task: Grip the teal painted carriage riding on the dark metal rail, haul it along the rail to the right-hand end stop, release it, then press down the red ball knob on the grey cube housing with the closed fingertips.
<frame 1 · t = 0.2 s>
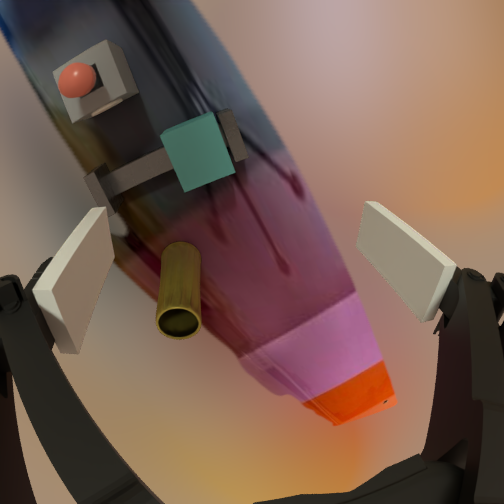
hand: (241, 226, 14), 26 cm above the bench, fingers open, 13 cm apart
grey cube housing: (106, 82, 30), on the bench
carriage: (198, 148, 33), point 4 cm above the bench, slide at 4.5 cm
vase: (181, 258, 45), on the bench
red ball knob: (83, 80, 23), point 8 cm above the bench, slide at 0.0 cm
rail: (166, 156, 36), on the bench
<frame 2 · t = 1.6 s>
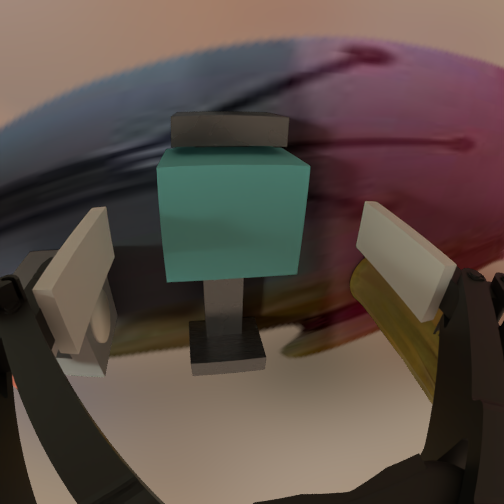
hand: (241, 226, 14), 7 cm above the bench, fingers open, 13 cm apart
grey cube housing: (73, 285, 22), on the bench
carriage: (226, 201, 17), point 4 cm above the bench, slide at 4.5 cm
vase: (374, 274, 28), on the bench
red ball knob: (42, 356, 15), point 8 cm above the bench, slide at 0.0 cm
rail: (220, 240, 23), on the bench
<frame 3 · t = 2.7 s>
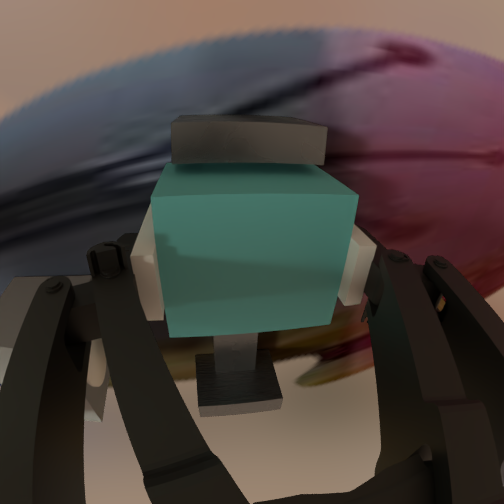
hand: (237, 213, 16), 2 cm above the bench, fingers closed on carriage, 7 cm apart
grey cube housing: (63, 314, 19), on the bench
carriage: (243, 231, 14), point 4 cm above the bench, slide at 4.5 cm, touching gripper
rail: (232, 269, 19), on the bench
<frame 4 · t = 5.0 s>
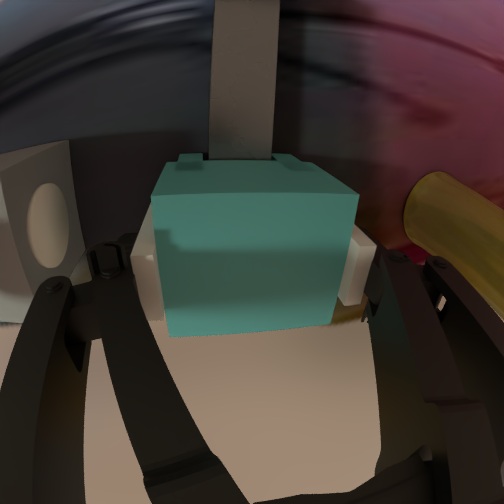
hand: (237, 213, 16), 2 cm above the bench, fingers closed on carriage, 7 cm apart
grey cube housing: (30, 202, 14), on the bench
carriage: (243, 231, 14), point 4 cm above the bench, slide at -4.4 cm, touching gripper
vase: (429, 207, 20), on the bench
rail: (236, 127, 15), on the bench
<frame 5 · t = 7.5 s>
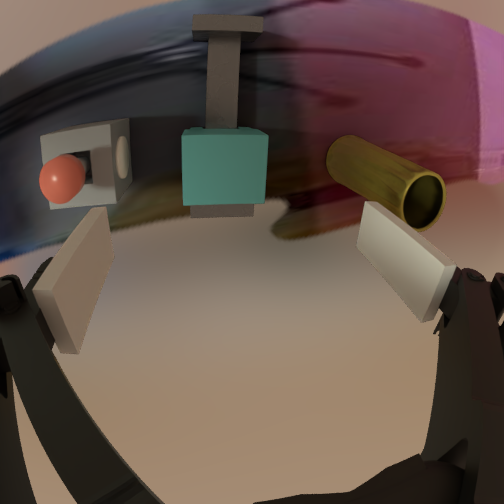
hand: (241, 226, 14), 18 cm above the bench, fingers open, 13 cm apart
grey cube housing: (100, 153, 28), on the bench
carriage: (221, 161, 27), point 4 cm above the bench, slide at -4.4 cm
vase: (348, 159, 33), on the bench
red ball knob: (70, 172, 20), point 8 cm above the bench, slide at 0.0 cm
rail: (220, 113, 28), on the bench
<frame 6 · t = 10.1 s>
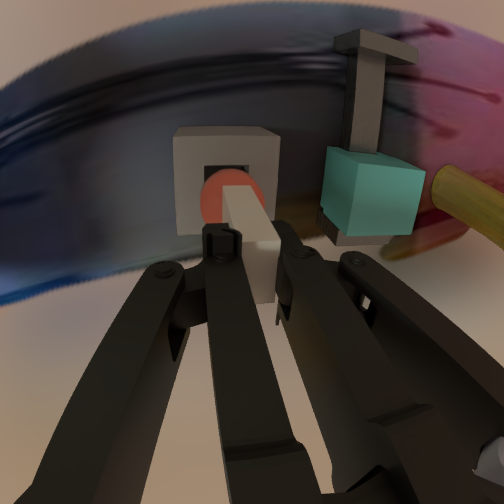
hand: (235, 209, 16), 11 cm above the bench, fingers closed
grey cube housing: (219, 164, 26), on the bench
carriage: (367, 188, 25), point 4 cm above the bench, slide at -4.4 cm
vase: (445, 186, 31), on the bench
red ball knob: (228, 192, 19), point 8 cm above the bench, slide at 0.0 cm, touching gripper
rail: (354, 134, 26), on the bench
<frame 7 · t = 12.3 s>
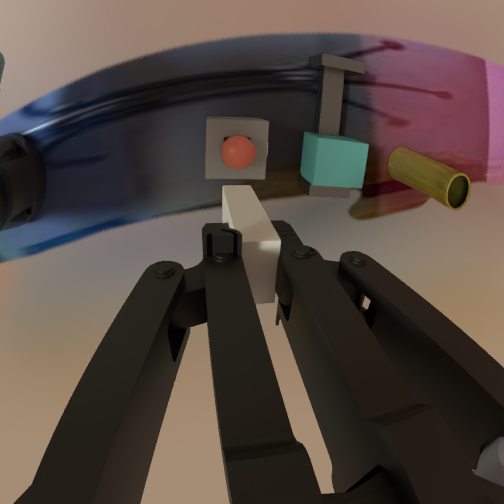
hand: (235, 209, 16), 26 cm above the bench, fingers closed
grey cube housing: (231, 141, 39), on the bench
carriage: (331, 158, 38), point 4 cm above the bench, slide at -4.4 cm
vase: (401, 163, 44), on the bench
red ball knob: (236, 149, 33), point 7 cm above the bench, slide at 1.7 cm
rail: (324, 123, 39), on the bench
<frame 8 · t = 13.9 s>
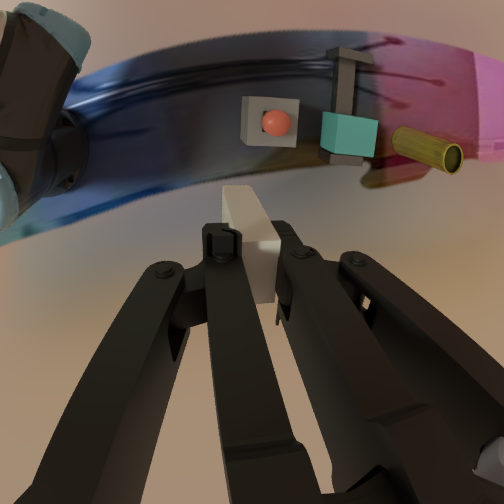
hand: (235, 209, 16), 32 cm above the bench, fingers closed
grey cube housing: (263, 118, 44), on the bench
carriage: (346, 133, 43), point 4 cm above the bench, slide at -4.4 cm
vase: (403, 140, 49), on the bench
red ball knob: (272, 121, 38), point 7 cm above the bench, slide at 1.7 cm
rail: (339, 105, 44), on the bench
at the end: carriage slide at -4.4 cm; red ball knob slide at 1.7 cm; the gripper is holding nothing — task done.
